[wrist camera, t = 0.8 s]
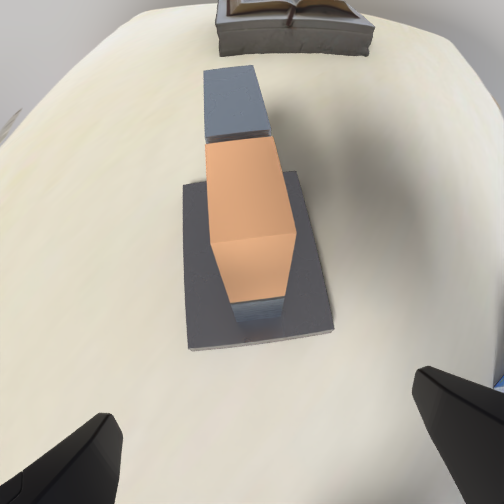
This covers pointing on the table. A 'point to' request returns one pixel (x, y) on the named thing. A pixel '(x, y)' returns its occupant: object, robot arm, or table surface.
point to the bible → (291, 27)
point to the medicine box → (500, 385)
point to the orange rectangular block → (249, 218)
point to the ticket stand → (201, 254)
